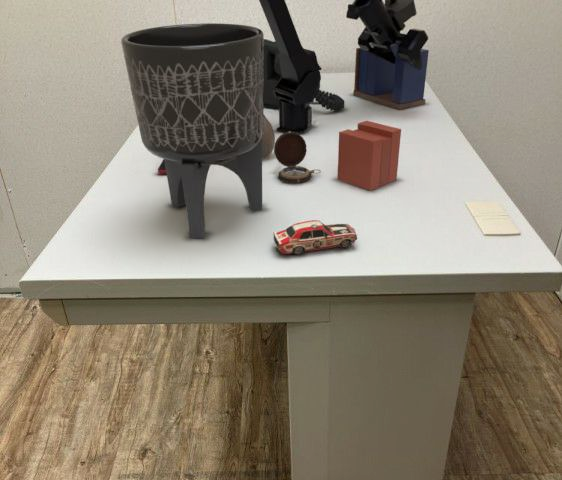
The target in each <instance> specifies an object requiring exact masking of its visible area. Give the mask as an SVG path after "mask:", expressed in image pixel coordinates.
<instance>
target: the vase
mask: <svg viewBox="0 0 562 480" xmlns="http://www.w3.org/2000/svg"><path fill="white" fill-rule="evenodd" d="M275 142H276V135H275V131H274V127H273V125H272V123H271V122H270V121H269V119H268V118H267V117H266V116H265V114H264V116H263V137H262V160H265V159H267V158H268V157H270V156H271V154H272V152H274V146H275Z"/></svg>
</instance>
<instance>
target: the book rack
mask: <svg viewBox="0 0 562 480" xmlns="http://www.w3.org/2000/svg"><path fill="white" fill-rule="evenodd" d="M359 65H360V47H356V48H355V65H354V66H355V67H354V84H353V85H354V88H353V93H352V94H353V96H354V97H358V98H362V99H364V100H368V101H371V102H374V103H377V104H380V105H384V106H387V107H390V108H393V109H396V110H405V109H409V108H413V107H418V106H424V105H426V98H423V99H422V100H417V101H413V102H408V103H403V104H399V103H396V102H392V96H393V92H390V93H385V94H380V95H375V96H373V95H370V94H366V93H363V92H360V91H358V84H359Z"/></svg>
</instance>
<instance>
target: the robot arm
mask: <svg viewBox="0 0 562 480" xmlns="http://www.w3.org/2000/svg"><path fill="white" fill-rule="evenodd" d="M258 1H259V4H260V6H261V9H262V11H263V14H264V16H265V19H266V21H267V24H268V26H269V29H270V31H271V34H272V36H273V39H274V42H275V41H276V44H277V46H278V49H279V51H280V55H281V59H280V69H281V73H282V76H281V78H280V79H279V81H278V82H277V84H276V85H275V87H274V88H273V91H274V94H275V97H276V98H279V99H280V100H279V109H278V122H279V123H278V125H279V126H278V127H277V128H276V130H275V131H276V132H281V133H286V132H289V131H291V132H295V133H298V134H304V133H306V132H307V131H308V130H310V128H312V127H313V107H312V106H311V104H312V103H314V101H315V94H316V90H317V87H318V85H319V82H320V83H321V81H322V75H321V72H320V71H322V67H321V66H320V63H319V62H318V57H317V53H316V52H315V51H314V50H310V49H308V48H307V49H306V48H304V47H303V45H302V42H301V40H300V38H299V34H298V31H297V29H296V27H295V24H294V22H293V18H292V16H291V12H290V11H289V8H288V5H287V3H286V0H258ZM416 15H417V8H416V4H415V0H384V1H383V0H354V1H353V2H352V3H349V4H348V5H347V10H346V14H345V17H346V19H350V20H354V21H355V20H356V21H357V20H360V21H361V22H362V24H363V25H364V28H363V30H362V32H361V33H360V34H359V36H358V37H357V45H358V48H361V49H362V50H365V51H366V52H368V53H371V54H373V55H375V56H377V57H380V58H382V59H384V60H386V61H388V62H390V63H392V64H395V60H396V57H395V55H394V53H393V51H392V49H391V47H390V46H391V45H393V44H395V45H398V50H397V53H398V55H399V56H400V57H401V58H402V59H401V60H403V61H404V62H406V63H408V64H410V65H411V66H413V67H415V68H416V69H418V70H421V69H422V67H423V63H422V57H421V49H423V48H424V46H425V45H426V43H427V42H428V40H429V36H428V34H427V32H426V31H425V30H424V29H418V28H410V29H408V31H407V32H406V33H403V32H402V31H404V29H405V28H406V24H405V23H407V22H408V21H409V20H410V19H411V18H413V17H415V16H416Z"/></svg>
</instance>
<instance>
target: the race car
mask: <svg viewBox="0 0 562 480" xmlns="http://www.w3.org/2000/svg"><path fill="white" fill-rule="evenodd" d="M272 239H273V242H274V243H275V245H276V247H277V250H279V252H280V253H281V254H283V255H287V254H288V255H289V254H293V255H296V256H299V255H303V254H304V253H305V252H312V251H319V250H327V249H333V248H338V247H340V249H342V250H347V248H349V247H350V245H351V243H354V242H356V241H357V240H358V235H357V232H356V229H355V228H354V227H352V226H351V225H350V224H349V223H329V224H324V223H323V222H322V221H321V220H316V219H313V220H305V221H301V222H297V223H294V224H291V225H290V226H288V227H287V228H286V229H283V230H281V231H277V232H273V237H272Z"/></svg>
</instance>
